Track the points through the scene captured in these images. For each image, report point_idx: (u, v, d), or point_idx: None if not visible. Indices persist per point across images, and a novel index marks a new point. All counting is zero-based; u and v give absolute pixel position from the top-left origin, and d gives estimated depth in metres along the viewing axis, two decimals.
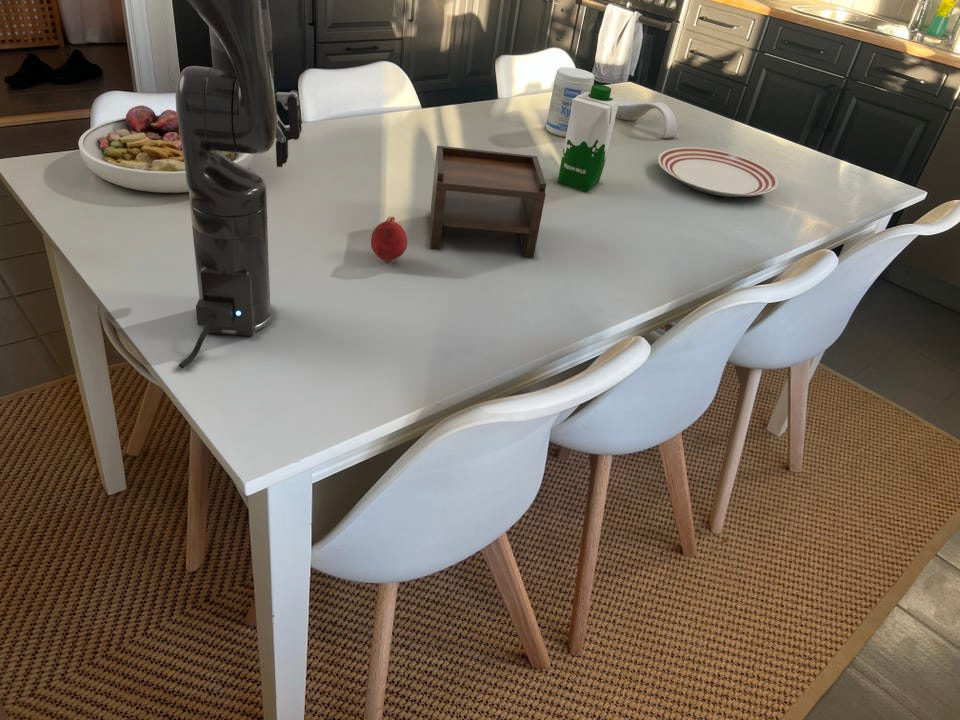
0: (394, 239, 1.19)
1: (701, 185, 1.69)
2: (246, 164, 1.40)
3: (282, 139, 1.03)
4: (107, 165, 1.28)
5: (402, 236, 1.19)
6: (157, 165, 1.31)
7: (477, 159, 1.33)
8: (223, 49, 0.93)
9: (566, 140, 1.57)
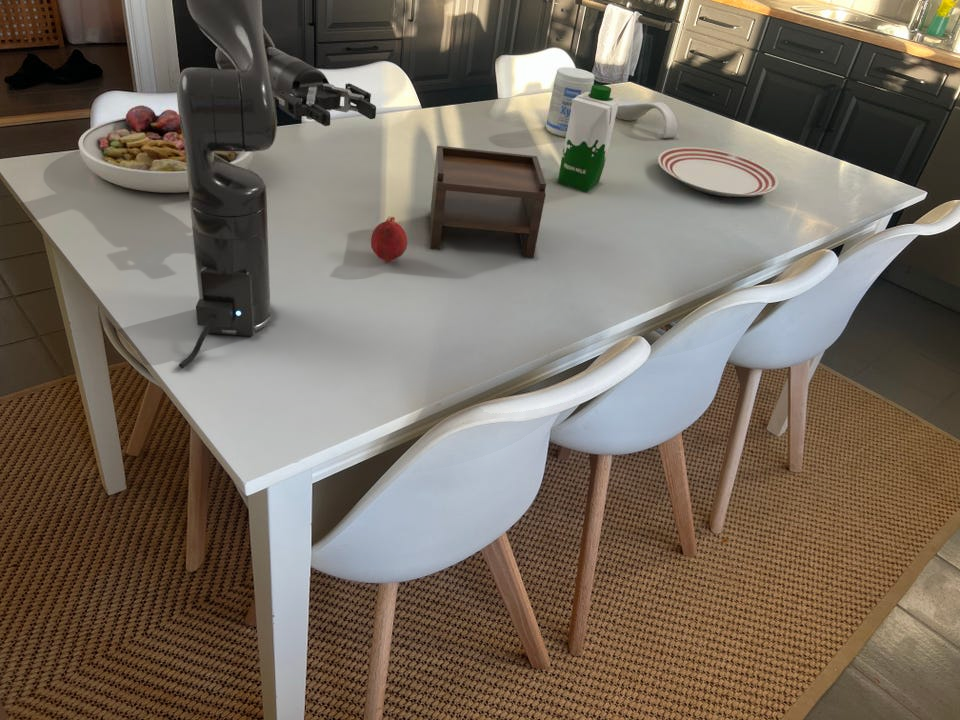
0: (394, 239, 1.19)
1: (701, 185, 1.69)
2: (246, 164, 1.40)
3: (361, 95, 1.22)
4: (107, 165, 1.28)
5: (402, 236, 1.19)
6: (157, 165, 1.31)
7: (477, 159, 1.33)
8: (287, 63, 1.24)
9: (566, 140, 1.57)
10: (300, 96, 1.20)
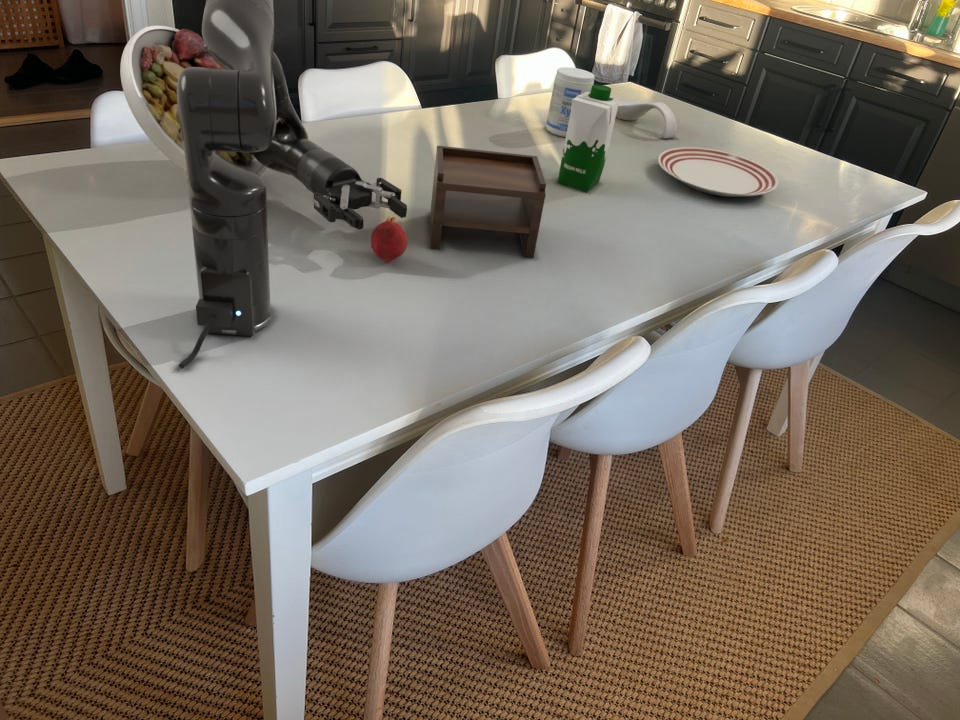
0: (394, 239, 1.19)
1: (701, 185, 1.69)
2: None
3: (392, 193, 1.26)
4: (149, 116, 1.21)
5: (402, 236, 1.19)
6: None
7: (477, 159, 1.33)
8: (320, 160, 1.27)
9: (566, 140, 1.57)
10: (333, 196, 1.24)
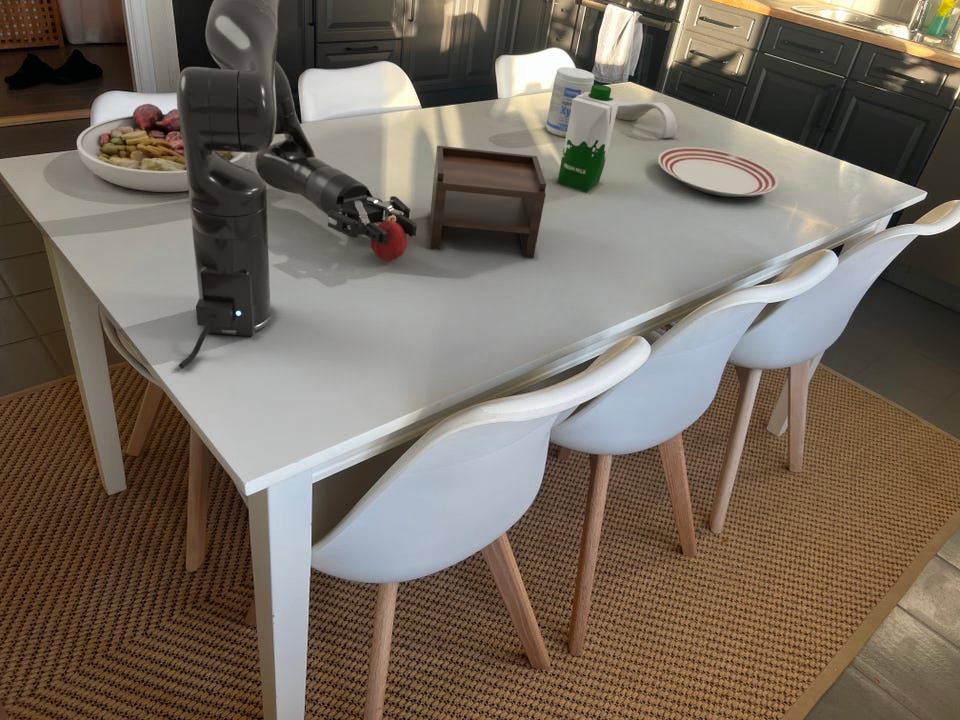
0: (393, 239, 1.19)
1: (701, 185, 1.69)
2: None
3: (401, 212, 1.22)
4: (96, 161, 1.30)
5: (402, 236, 1.19)
6: (146, 164, 1.32)
7: (477, 159, 1.33)
8: (330, 177, 1.25)
9: (566, 140, 1.57)
10: (345, 212, 1.21)
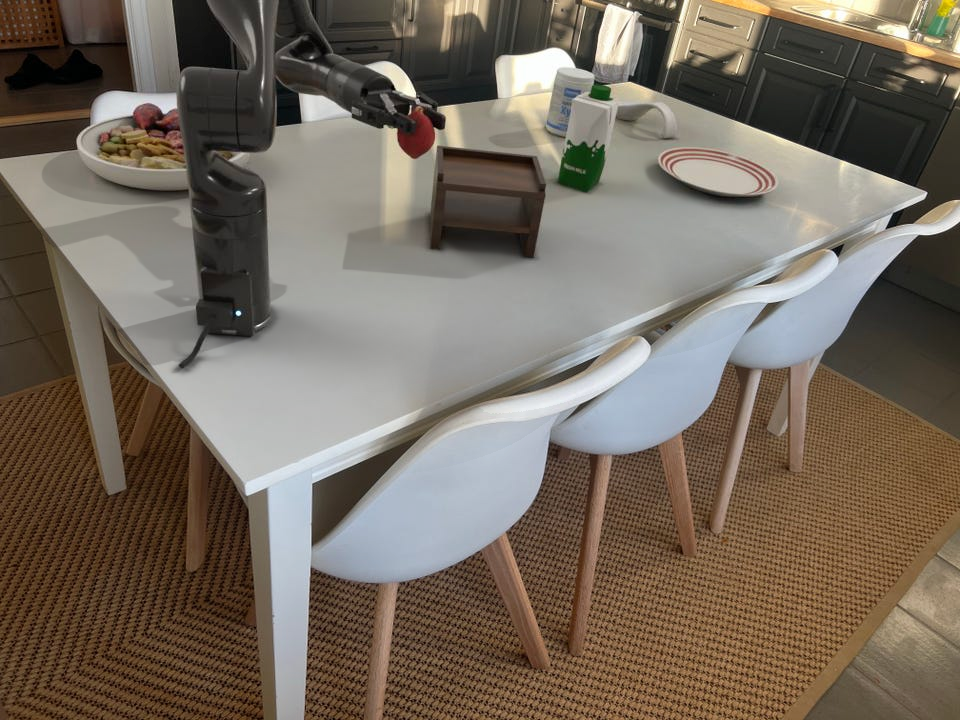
0: (422, 130, 1.12)
1: (701, 185, 1.69)
2: None
3: (428, 105, 1.15)
4: (96, 159, 1.29)
5: (430, 128, 1.13)
6: (145, 162, 1.32)
7: (477, 159, 1.33)
8: (353, 70, 1.18)
9: (566, 140, 1.57)
10: (370, 104, 1.14)
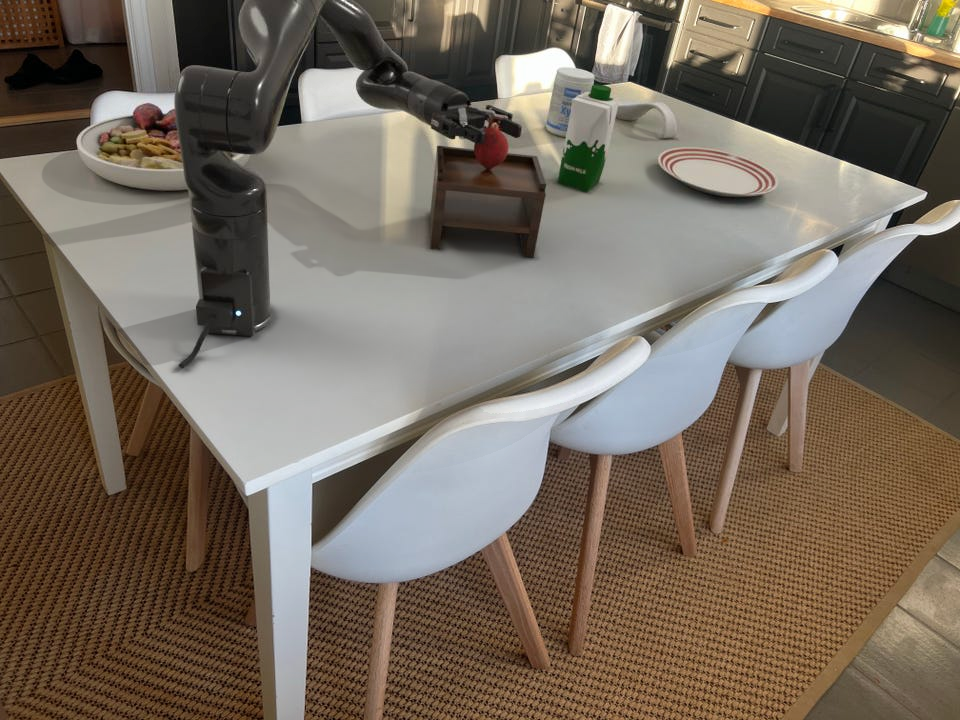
0: (498, 144, 1.25)
1: (701, 185, 1.69)
2: None
3: (505, 116, 1.30)
4: (96, 159, 1.29)
5: (505, 142, 1.26)
6: (145, 162, 1.32)
7: None
8: (434, 87, 1.31)
9: (566, 140, 1.57)
10: (451, 117, 1.27)
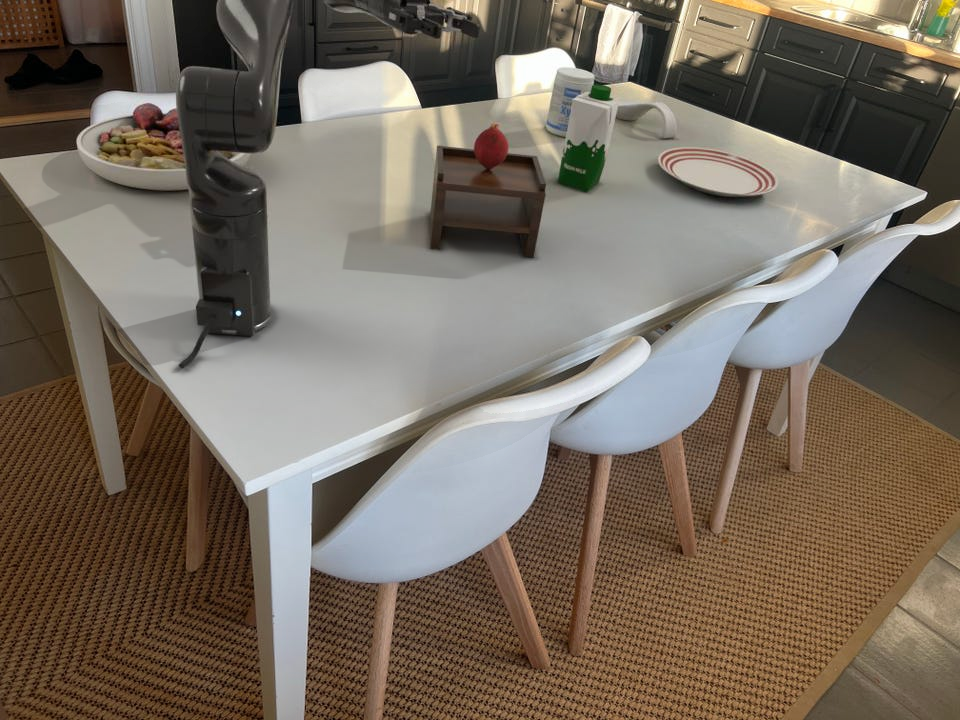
0: (498, 144, 1.25)
1: (701, 185, 1.69)
2: None
3: (464, 16, 1.29)
4: (96, 159, 1.29)
5: (505, 142, 1.26)
6: (145, 162, 1.32)
7: None
8: None
9: (566, 140, 1.57)
10: (409, 12, 1.26)
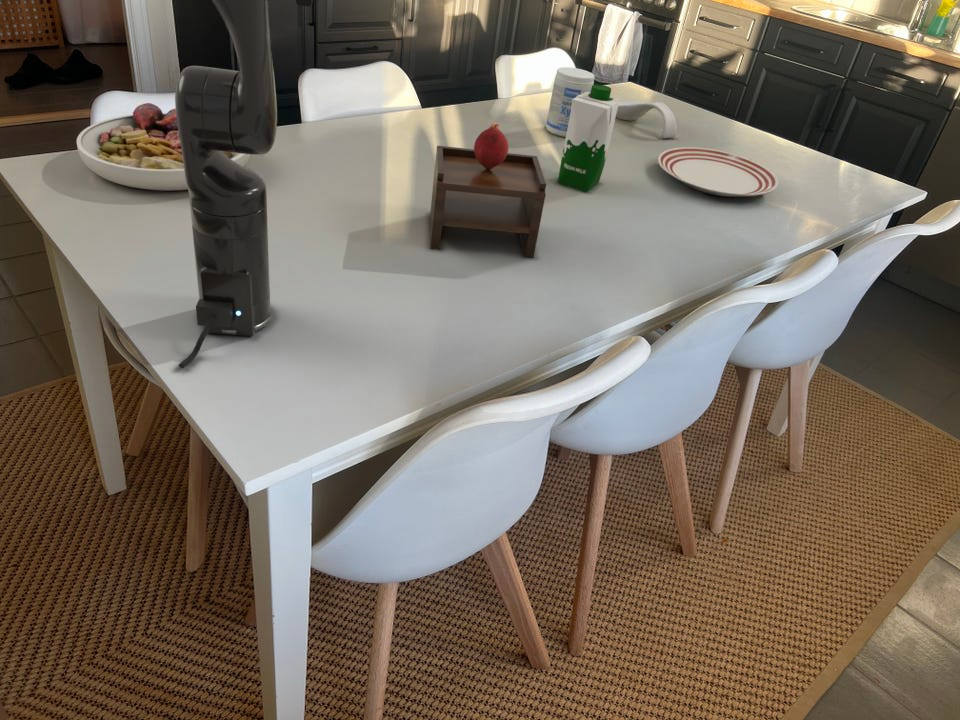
0: (498, 144, 1.25)
1: (701, 185, 1.69)
2: None
3: None
4: (96, 159, 1.29)
5: (505, 142, 1.26)
6: (145, 162, 1.32)
7: None
8: None
9: (566, 140, 1.57)
10: None
